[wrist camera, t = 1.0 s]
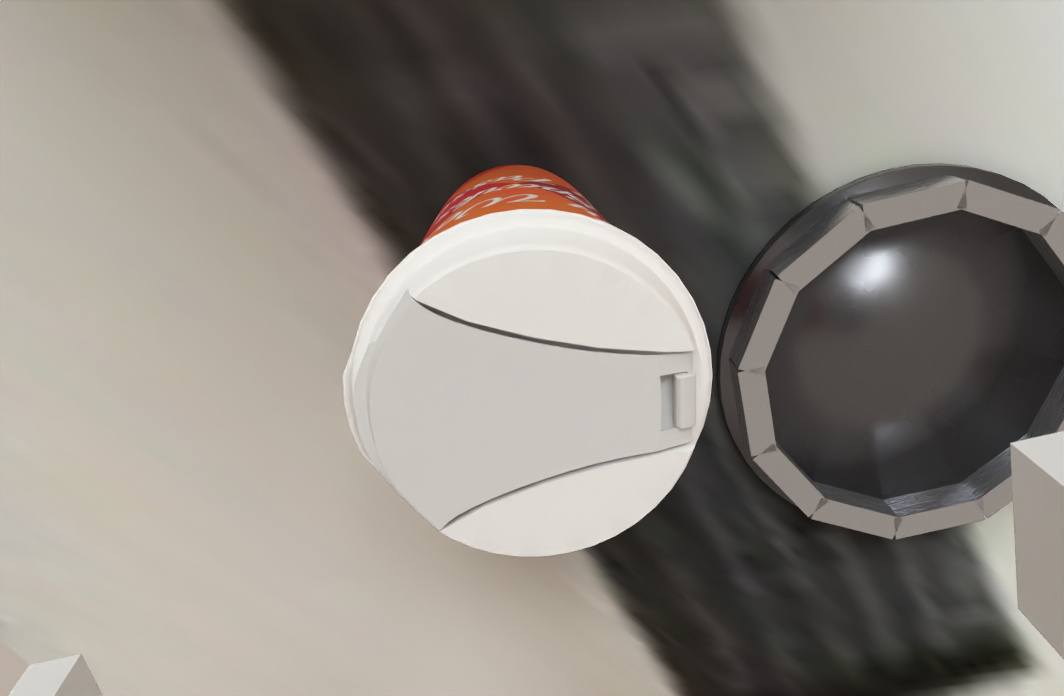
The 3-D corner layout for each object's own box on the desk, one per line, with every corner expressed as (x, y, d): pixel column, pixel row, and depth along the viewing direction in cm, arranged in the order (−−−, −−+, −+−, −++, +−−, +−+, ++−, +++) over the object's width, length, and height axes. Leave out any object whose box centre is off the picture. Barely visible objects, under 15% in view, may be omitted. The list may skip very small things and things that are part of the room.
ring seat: (688, 216, 33) (699, 229, 31) (1092, 120, 32) (1129, 127, 30) (745, 552, 38) (758, 580, 36) (1094, 475, 37) (1126, 499, 36)
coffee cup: (623, 123, 31) (731, 209, 17) (628, 340, 34) (724, 563, 20) (388, 139, 31) (304, 239, 17) (412, 356, 34) (359, 592, 20)
